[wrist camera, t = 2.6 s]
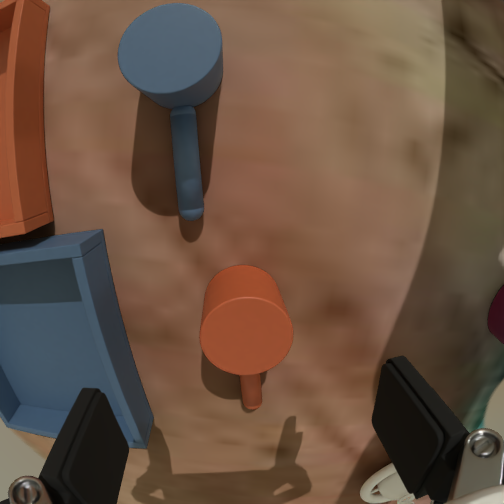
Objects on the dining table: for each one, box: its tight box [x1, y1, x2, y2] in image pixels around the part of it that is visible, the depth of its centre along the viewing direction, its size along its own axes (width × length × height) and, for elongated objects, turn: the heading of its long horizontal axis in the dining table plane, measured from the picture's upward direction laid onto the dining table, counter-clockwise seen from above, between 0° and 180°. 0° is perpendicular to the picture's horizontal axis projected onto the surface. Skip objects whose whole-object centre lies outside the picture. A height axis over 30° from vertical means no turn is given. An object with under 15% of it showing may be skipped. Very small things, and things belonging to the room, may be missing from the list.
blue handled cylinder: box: [118, 3, 223, 221], centre depth 12 cm, size 9×4×4 cm, turn 4°
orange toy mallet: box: [199, 265, 293, 410], centre depth 16 cm, size 9×4×4 cm, turn 4°
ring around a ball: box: [360, 463, 415, 504], centre depth 21 cm, size 8×6×8 cm
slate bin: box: [0, 229, 154, 448], centre depth 15 cm, size 13×12×3 cm
